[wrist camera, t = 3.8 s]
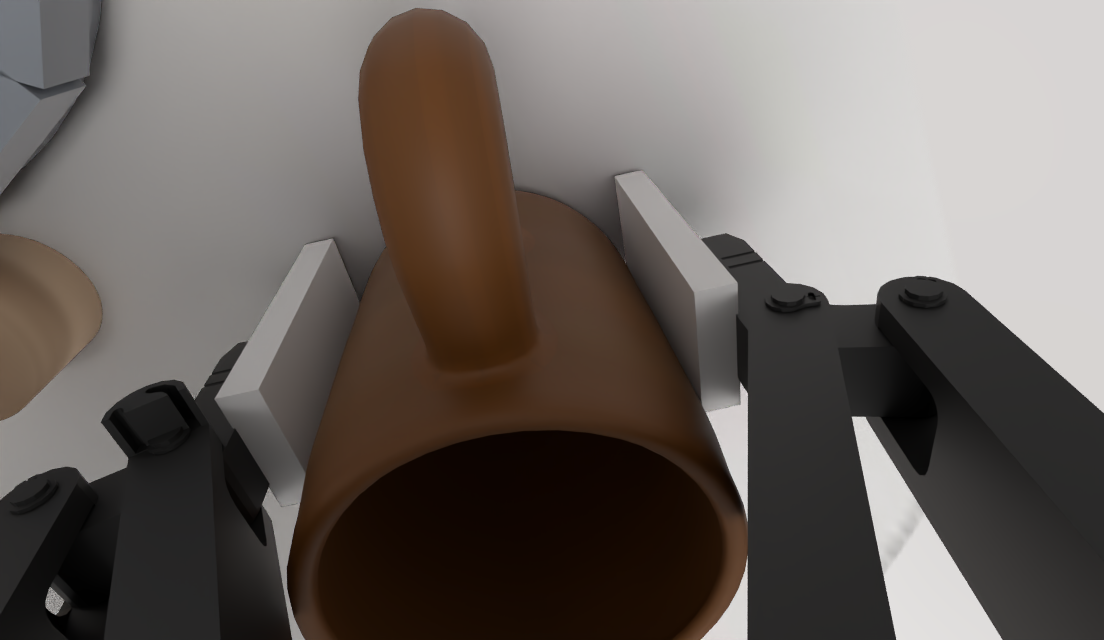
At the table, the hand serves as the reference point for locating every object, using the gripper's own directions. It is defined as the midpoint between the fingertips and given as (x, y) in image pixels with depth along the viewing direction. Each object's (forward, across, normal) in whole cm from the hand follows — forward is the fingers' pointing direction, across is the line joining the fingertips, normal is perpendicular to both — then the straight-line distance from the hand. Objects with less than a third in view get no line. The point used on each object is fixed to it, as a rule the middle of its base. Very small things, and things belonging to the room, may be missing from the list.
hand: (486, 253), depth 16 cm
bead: (0, -12, +2) cm, 12 cm away
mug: (0, 0, 0) cm, 1 cm away
